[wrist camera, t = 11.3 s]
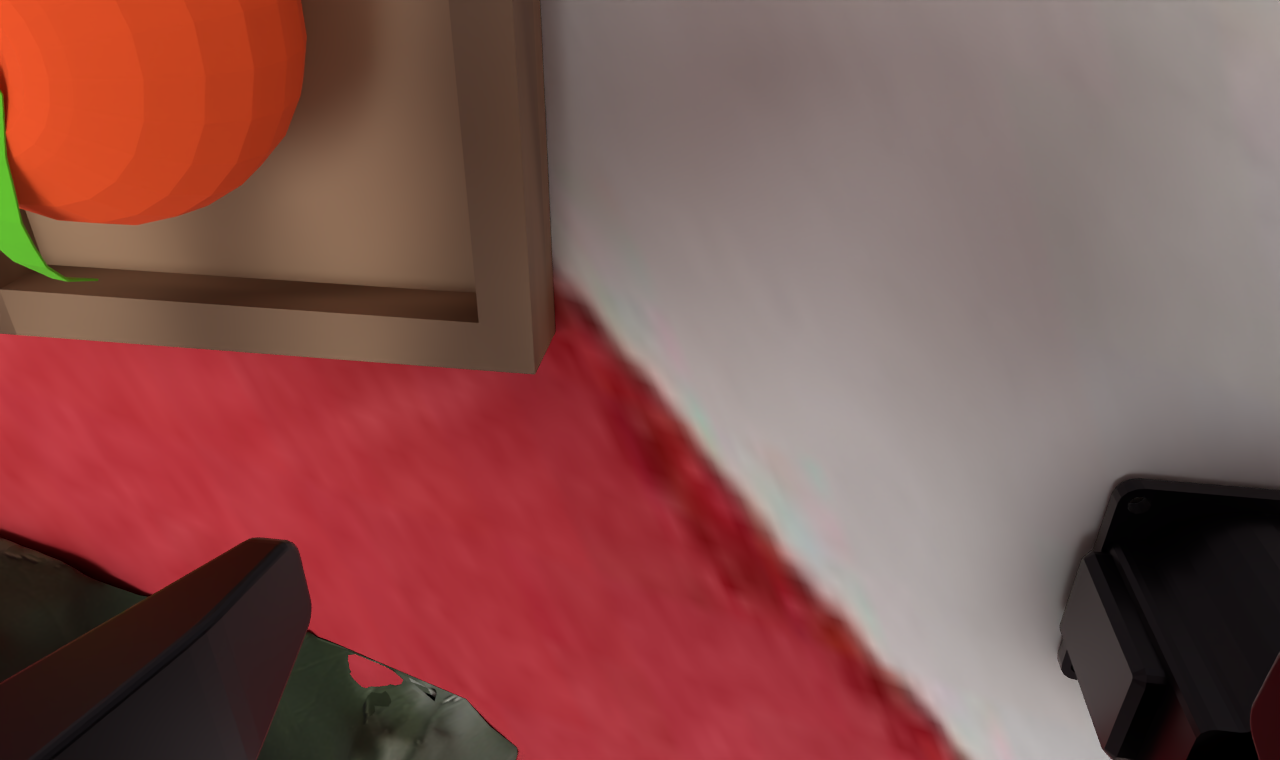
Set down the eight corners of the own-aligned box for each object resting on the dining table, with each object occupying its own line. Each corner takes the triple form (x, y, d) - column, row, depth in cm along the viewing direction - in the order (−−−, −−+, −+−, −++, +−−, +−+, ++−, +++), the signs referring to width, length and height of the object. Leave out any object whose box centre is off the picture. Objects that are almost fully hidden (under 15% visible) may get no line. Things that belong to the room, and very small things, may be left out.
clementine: (368, 231, 21) (196, 389, 15) (82, 175, 21) (-205, 307, 15) (365, -171, 17) (124, -184, 11) (8, -235, 17) (-428, -283, 11)
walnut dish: (521, -416, 15) (485, -453, 13) (555, 331, 22) (535, 374, 20) (-220, -396, 17) (-342, -426, 15) (33, 295, 24) (-28, 331, 22)
